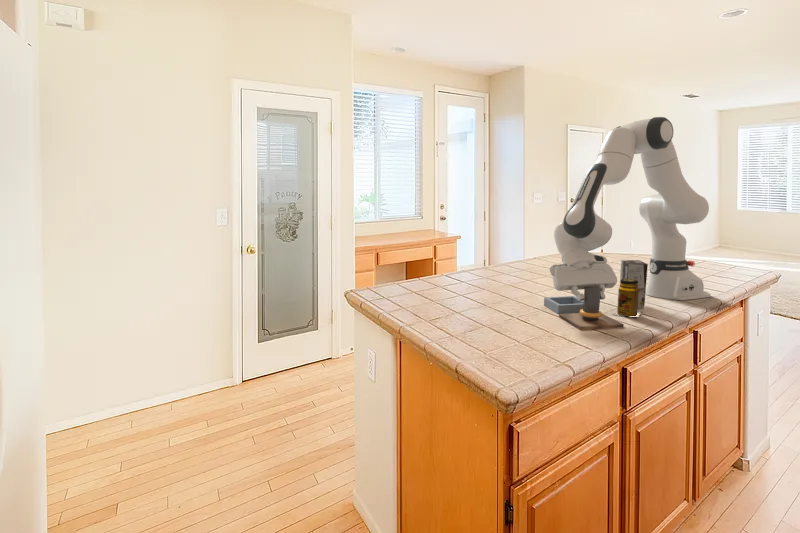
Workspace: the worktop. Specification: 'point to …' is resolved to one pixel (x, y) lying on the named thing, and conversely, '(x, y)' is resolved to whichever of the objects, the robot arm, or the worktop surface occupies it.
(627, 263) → the coffee box
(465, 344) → the worktop surface
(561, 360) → the worktop surface
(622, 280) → the condiment
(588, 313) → the plug
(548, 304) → the socket
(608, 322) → the walnut board
